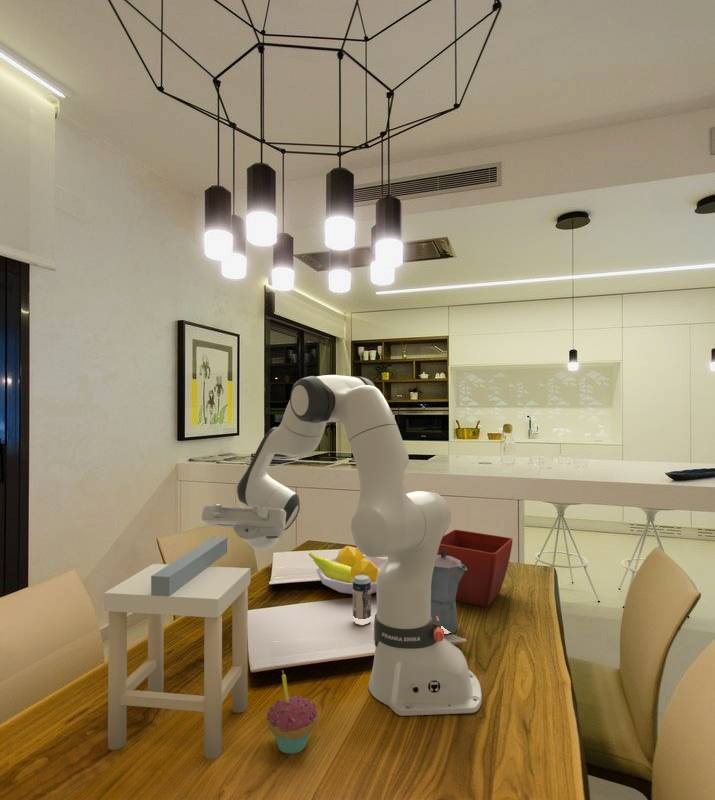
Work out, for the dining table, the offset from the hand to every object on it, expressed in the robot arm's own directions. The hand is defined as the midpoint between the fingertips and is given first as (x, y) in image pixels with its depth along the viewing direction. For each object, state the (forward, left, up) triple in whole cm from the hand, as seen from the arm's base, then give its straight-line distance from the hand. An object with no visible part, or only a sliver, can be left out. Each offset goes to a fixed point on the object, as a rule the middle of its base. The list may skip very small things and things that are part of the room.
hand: (235, 508), depth 112 cm
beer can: (-27, -20, -34) cm, 47 cm away
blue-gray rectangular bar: (0, +21, -7) cm, 22 cm away
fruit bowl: (-22, -45, -34) cm, 60 cm away
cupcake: (-21, +27, -34) cm, 48 cm away
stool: (0, +25, -33) cm, 42 cm away
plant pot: (-58, -42, -34) cm, 79 cm away
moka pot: (-47, -20, -34) cm, 61 cm away
